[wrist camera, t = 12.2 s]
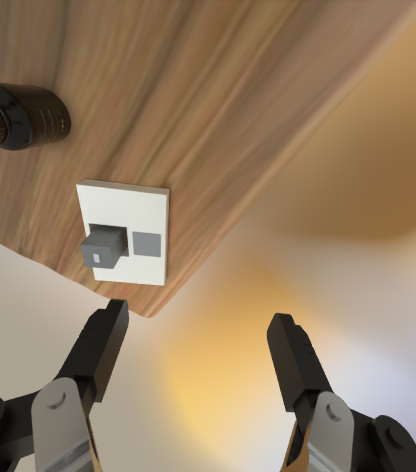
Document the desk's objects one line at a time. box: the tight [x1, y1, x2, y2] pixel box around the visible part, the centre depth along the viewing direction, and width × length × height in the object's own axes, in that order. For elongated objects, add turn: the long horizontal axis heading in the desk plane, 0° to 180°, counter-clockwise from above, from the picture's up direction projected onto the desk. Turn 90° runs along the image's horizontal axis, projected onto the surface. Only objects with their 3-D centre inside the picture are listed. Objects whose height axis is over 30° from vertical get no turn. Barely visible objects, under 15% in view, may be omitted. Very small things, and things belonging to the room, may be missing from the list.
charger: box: [80, 224, 128, 269], centre depth 37 cm, size 4×4×8 cm
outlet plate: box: [76, 179, 169, 286], centre depth 39 cm, size 20×14×3 cm
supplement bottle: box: [0, 83, 70, 151], centre depth 25 cm, size 7×7×12 cm
